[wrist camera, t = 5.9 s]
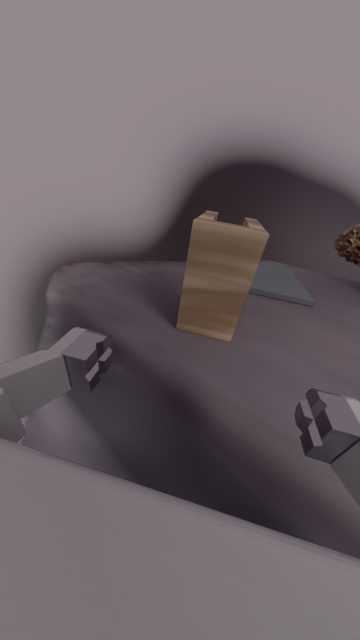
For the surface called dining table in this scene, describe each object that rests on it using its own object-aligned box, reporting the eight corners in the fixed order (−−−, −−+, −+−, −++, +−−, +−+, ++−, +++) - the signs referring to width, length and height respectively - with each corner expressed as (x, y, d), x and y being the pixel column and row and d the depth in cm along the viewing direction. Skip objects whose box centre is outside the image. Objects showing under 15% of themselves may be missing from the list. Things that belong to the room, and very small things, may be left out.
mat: (312, 306, 30) (315, 301, 29) (237, 289, 31) (238, 285, 30) (288, 270, 43) (290, 267, 42) (236, 260, 44) (237, 256, 44)
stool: (230, 342, 20) (269, 234, 14) (175, 328, 21) (193, 220, 15) (231, 301, 27) (257, 219, 22) (191, 292, 28) (206, 210, 22)
